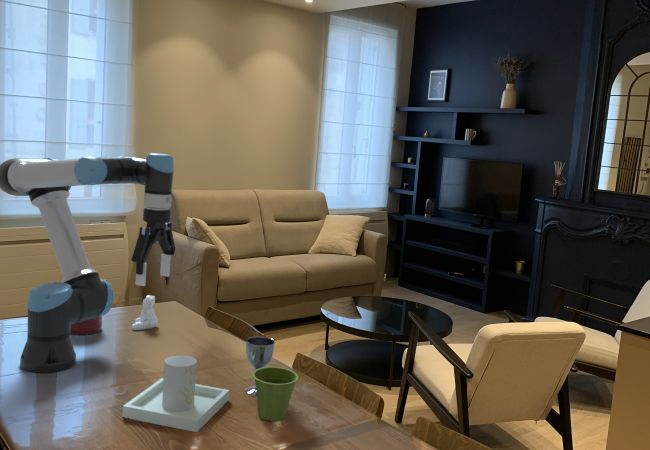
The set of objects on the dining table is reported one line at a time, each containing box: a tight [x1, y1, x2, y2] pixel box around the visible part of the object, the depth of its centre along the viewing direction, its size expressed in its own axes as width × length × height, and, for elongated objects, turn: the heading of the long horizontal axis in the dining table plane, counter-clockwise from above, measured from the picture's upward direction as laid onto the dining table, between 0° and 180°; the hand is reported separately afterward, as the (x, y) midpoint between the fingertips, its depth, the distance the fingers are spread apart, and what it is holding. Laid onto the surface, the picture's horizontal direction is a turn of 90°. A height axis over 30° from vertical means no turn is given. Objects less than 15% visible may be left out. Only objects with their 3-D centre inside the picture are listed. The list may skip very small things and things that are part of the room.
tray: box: [122, 377, 230, 433], centre depth 163 cm, size 20×20×3 cm
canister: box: [70, 316, 103, 336], centre depth 216 cm, size 13×13×18 cm
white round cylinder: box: [162, 354, 198, 412], centre depth 162 cm, size 8×8×12 cm
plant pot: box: [252, 366, 299, 422], centre depth 163 cm, size 12×12×11 cm
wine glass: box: [243, 335, 276, 398], centre depth 177 cm, size 8×8×15 cm
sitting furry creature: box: [131, 294, 159, 331], centre depth 226 cm, size 10×9×12 cm
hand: (153, 280), depth 181 cm, fingers open, 13 cm apart
